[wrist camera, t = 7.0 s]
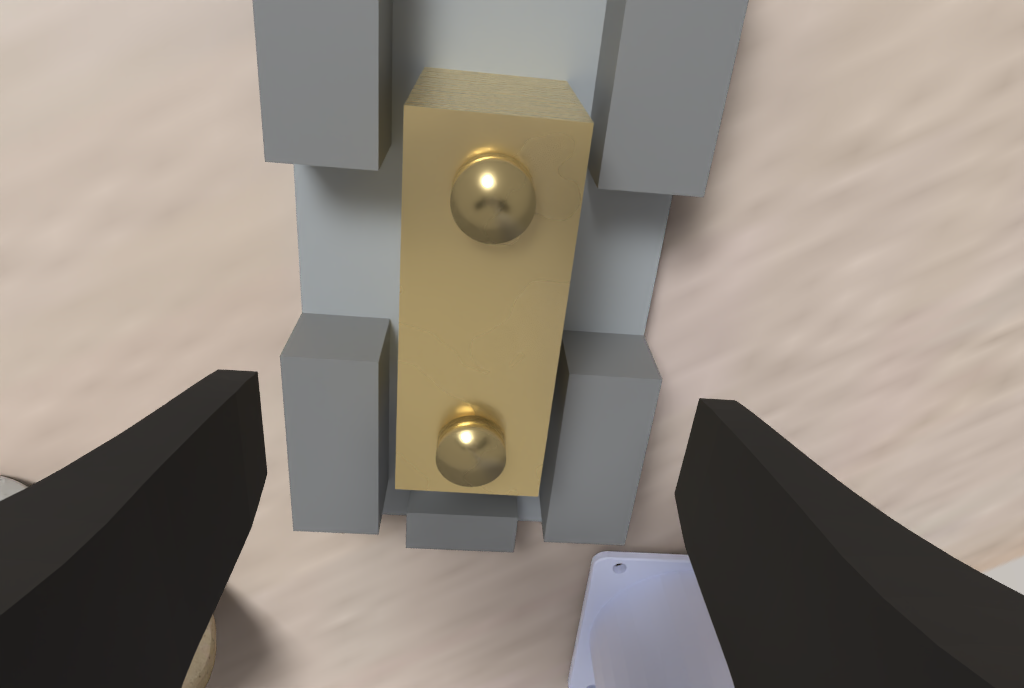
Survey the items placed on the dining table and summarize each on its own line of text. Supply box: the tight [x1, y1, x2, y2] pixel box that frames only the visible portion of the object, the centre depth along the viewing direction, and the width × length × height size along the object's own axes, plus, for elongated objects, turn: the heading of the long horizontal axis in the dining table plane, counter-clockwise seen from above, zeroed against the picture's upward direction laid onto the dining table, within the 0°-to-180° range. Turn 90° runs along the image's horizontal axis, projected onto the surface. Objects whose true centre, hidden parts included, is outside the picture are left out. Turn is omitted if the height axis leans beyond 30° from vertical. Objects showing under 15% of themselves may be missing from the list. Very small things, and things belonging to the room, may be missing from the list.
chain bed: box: [253, 0, 748, 552], centre depth 19 cm, size 10×20×4 cm, turn 175°
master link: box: [395, 67, 594, 497], centre depth 17 cm, size 4×9×6 cm, turn 174°
